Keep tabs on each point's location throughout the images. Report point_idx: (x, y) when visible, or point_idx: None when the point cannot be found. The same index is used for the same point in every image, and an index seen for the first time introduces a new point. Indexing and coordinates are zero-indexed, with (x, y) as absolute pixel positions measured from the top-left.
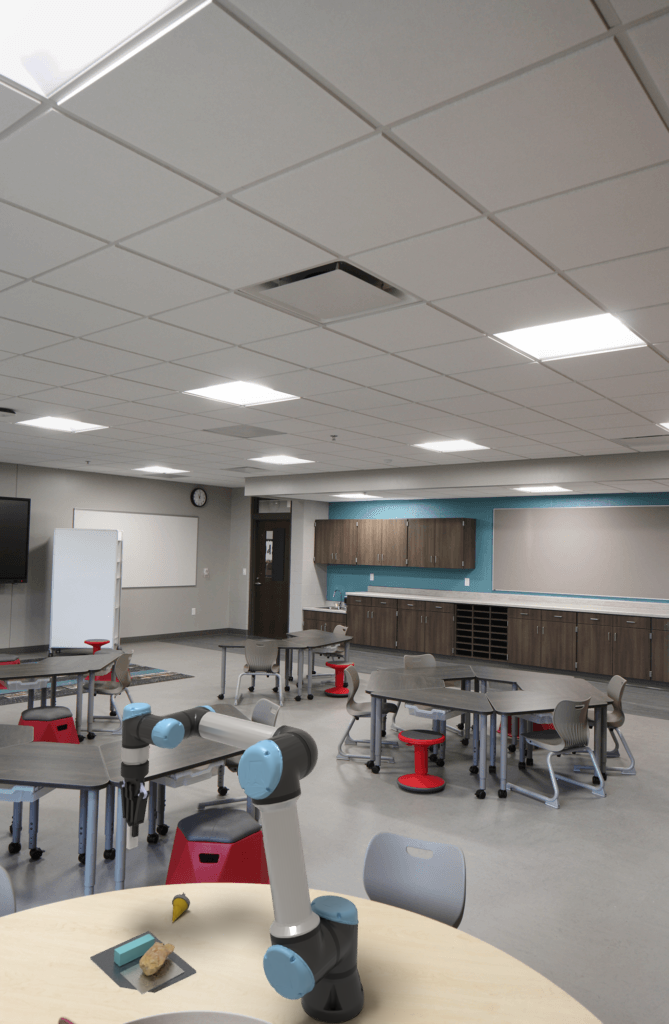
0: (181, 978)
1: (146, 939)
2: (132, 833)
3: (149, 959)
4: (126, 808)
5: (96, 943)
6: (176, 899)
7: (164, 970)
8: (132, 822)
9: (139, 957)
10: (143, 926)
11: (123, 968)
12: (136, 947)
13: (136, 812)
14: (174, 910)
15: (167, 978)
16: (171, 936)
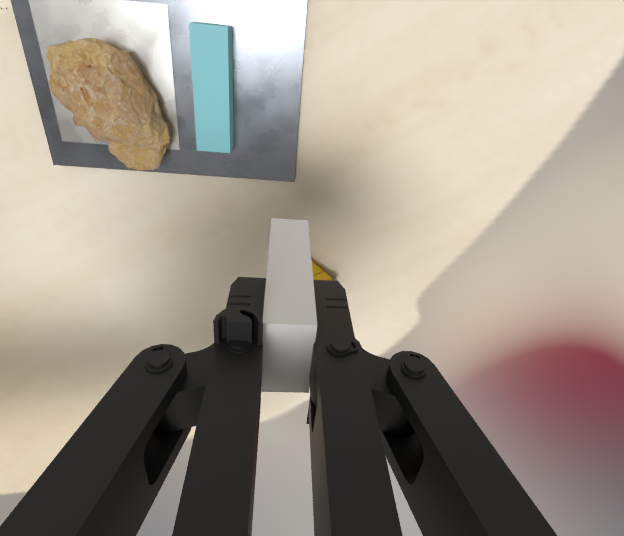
0: (42, 119)
1: (208, 131)
2: (254, 293)
3: (64, 58)
4: (377, 464)
5: (369, 53)
6: None
7: None
8: (214, 356)
9: None
10: (334, 189)
11: (183, 27)
12: (193, 87)
13: (67, 492)
14: None
15: None
16: (244, 211)
